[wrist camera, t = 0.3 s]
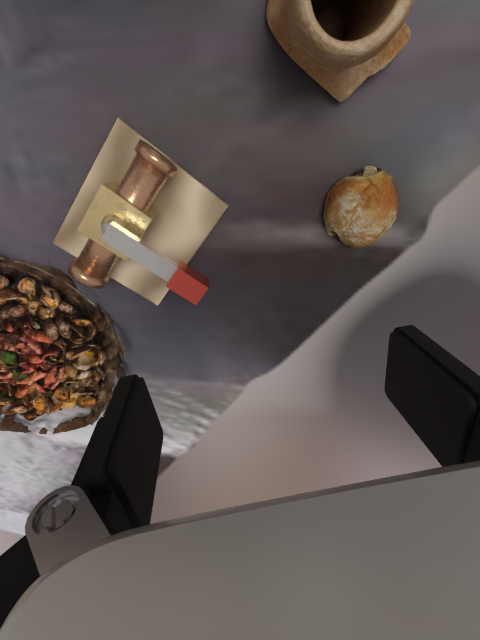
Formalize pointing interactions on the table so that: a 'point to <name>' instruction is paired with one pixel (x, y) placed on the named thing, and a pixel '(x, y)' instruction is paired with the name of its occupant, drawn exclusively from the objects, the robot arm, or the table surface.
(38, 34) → the table surface
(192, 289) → the valve lever
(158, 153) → the valve pipe
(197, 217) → the beige board
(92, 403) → the food dish
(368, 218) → the bread roll
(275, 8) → the stone cup
